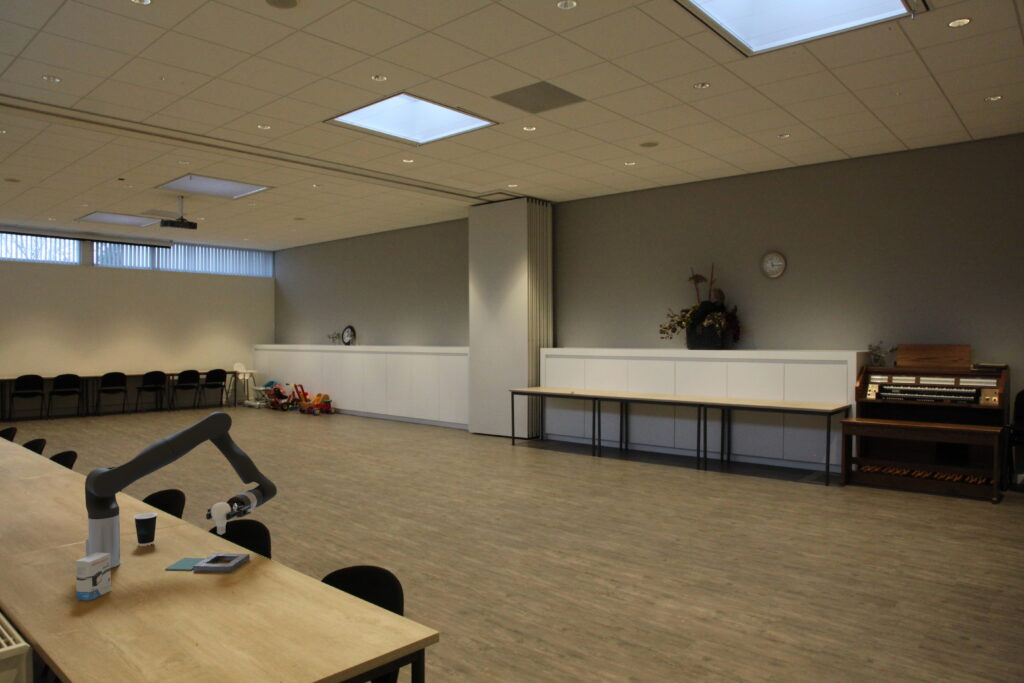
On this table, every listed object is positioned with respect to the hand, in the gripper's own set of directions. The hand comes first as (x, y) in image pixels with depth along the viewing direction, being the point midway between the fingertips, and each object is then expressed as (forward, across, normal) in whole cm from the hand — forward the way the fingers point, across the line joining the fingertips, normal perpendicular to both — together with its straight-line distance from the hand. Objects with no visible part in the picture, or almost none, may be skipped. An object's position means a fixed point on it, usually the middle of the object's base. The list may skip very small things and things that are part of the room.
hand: (217, 516), depth 231 cm
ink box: (+26, -25, +18) cm, 40 cm away
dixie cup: (-23, -41, +18) cm, 51 cm away
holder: (-2, 0, +17) cm, 18 cm away
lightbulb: (-2, 0, +7) cm, 7 cm away
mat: (-2, -12, +17) cm, 21 cm away
